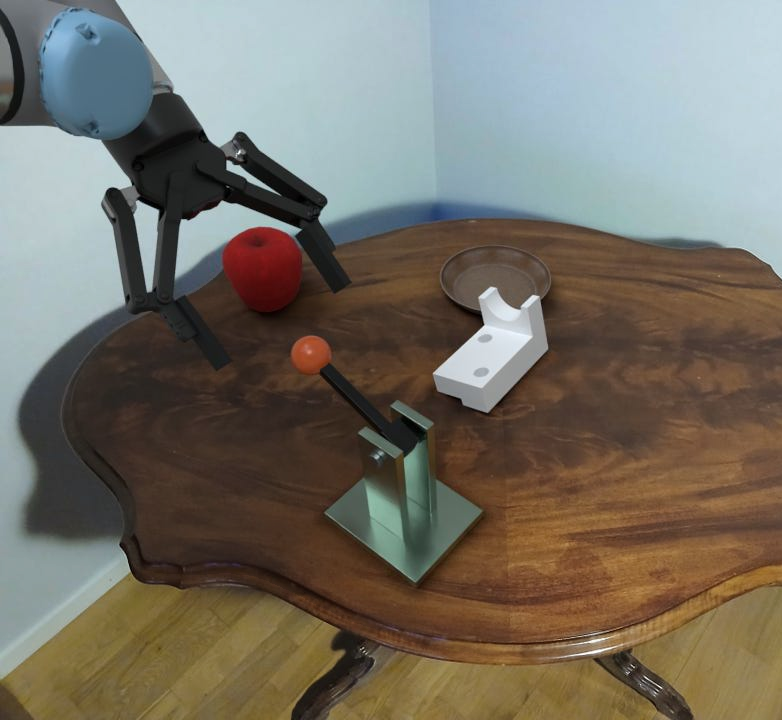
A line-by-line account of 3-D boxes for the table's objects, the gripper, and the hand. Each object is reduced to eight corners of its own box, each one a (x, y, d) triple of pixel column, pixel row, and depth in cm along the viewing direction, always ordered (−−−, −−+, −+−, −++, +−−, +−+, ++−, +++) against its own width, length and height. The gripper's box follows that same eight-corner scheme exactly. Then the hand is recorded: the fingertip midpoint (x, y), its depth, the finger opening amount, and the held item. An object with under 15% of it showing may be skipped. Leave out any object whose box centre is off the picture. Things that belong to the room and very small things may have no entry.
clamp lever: (280, 362, 66) (284, 342, 63) (309, 341, 68) (315, 321, 65) (390, 472, 64) (399, 456, 61) (417, 447, 66) (427, 431, 63)
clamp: (325, 519, 72) (304, 428, 62) (394, 457, 78) (385, 365, 68) (416, 589, 67) (409, 502, 57) (483, 517, 73) (486, 426, 63)
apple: (301, 329, 92) (287, 259, 84) (225, 326, 92) (204, 256, 84) (315, 280, 99) (304, 212, 92) (245, 278, 99) (227, 210, 92)
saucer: (462, 249, 105) (462, 234, 103) (561, 272, 102) (563, 256, 100) (422, 312, 95) (422, 295, 93) (531, 339, 92) (532, 323, 90)
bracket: (501, 337, 93) (490, 286, 89) (548, 348, 89) (539, 296, 85) (439, 397, 85) (424, 345, 81) (487, 412, 81) (474, 358, 77)
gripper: (244, 88, 71) (368, 271, 75) (-14, 190, 57) (155, 411, 61) (271, 46, 65) (403, 249, 69) (-11, 149, 51) (176, 397, 55)
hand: (287, 325), depth 65 cm, fingers open, 13 cm apart
